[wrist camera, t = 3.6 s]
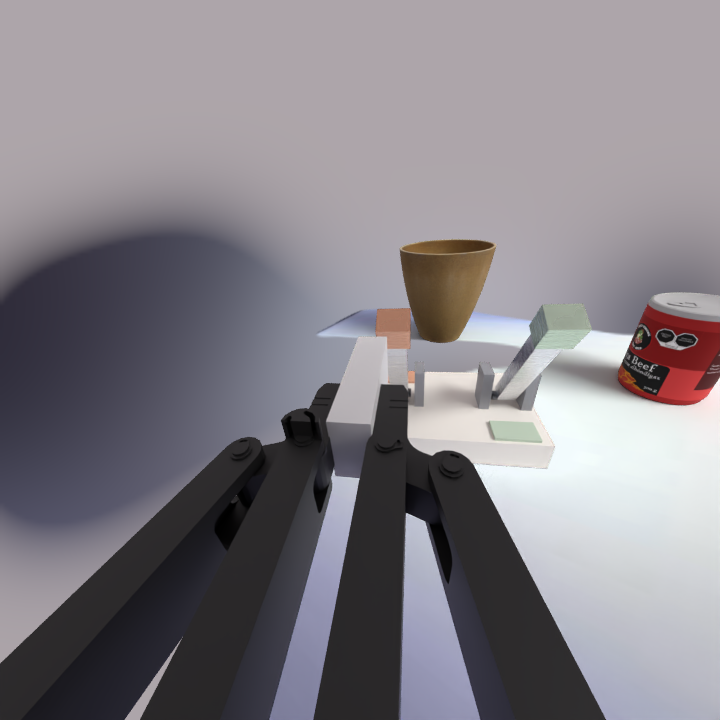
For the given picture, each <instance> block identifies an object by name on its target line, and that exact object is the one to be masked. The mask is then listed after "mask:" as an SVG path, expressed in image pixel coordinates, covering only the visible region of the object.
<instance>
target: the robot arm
mask: <svg viewBox="0 0 720 720" xmlns="http://www.w3.org/2000/svg"><path fill="white" fill-rule="evenodd" d="M281 422H282V426H283V429H284V433H285V436H286V439H285V441H283V442H279V443H275V444H270V445H264V446H262V445H261V443H260V440H258V439H256V438H252V437H246V438H241V439H239V440H236V441H234V442H233V443H231V444H230V445H229V446H227V447H226V448H225V449H224V450H223V451H222V452H221V453H220V454H219V455H218V456H217V457H216V458H215V459H214V460H213V461H212V462H210V463H209V465H207V466H206V467H205V468H204V469H203V470H202V471H201V472H200V473H199V474H198V475H197V476H196V477H195V478H194V479H193V480H192V481H191V482H190V483H189V484H187V485H186V486H185V487H184V488H183V489H182V490H181V491H180V492H179V493H178V494H177V495H176V496H175V497H174V498H173V499H172V500H171V501H170V502H169V503H168V504H167V505H166V506H164V507H163V508H162V509H161V510H160V511H159V512H158V513H157V514H156V515H155V516H154V517H153V518H152V519H151V520H150V521H149V522H148V523H147V524H146V525H145V526H144V527H143V528H141V529H140V530H139V531H138V532H137V533H136V534H135V535H134V536H133V537H132V538H131V539H130V540H129V541H128V542H127V543H126V544H125V545H124V546H123V547H122V548H121V549H120V550H118V551H117V552H116V553H115V554H114V555H113V556H112V557H111V558H110V559H109V560H108V561H107V562H106V563H105V564H104V565H103V566H102V567H101V568H100V569H99V570H98V571H97V572H96V573H94V574H93V575H92V576H91V577H90V578H89V579H88V580H87V581H86V582H85V583H84V584H83V585H82V586H81V587H80V588H79V589H78V590H77V591H76V592H75V593H74V594H72V595H71V596H70V597H69V598H68V599H67V600H66V601H65V602H64V603H63V604H62V605H61V606H60V607H59V608H58V609H57V610H56V611H55V612H54V613H53V614H52V615H51V616H49V617H48V619H46V620H45V621H44V622H43V623H42V624H41V625H40V626H39V627H38V628H37V629H36V630H35V631H34V632H33V633H32V634H31V635H30V636H29V637H28V638H26V639H25V640H24V641H23V642H22V643H21V644H20V645H19V646H18V647H17V648H16V649H15V650H14V651H13V652H12V653H11V654H10V655H9V656H8V657H7V658H6V659H5V660H4V661H2V662H1V663H0V720H125V718H126V717H127V715H128V714H129V712H130V711H131V710H132V708H133V707H134V705H135V704H136V702H137V701H138V700H139V698H140V697H141V695H142V694H143V693H144V691H145V689H146V688H147V687H148V685H149V684H150V683H151V681H152V680H153V678H154V677H155V675H156V674H157V673H158V671H159V670H160V668H161V667H162V666H163V664H164V663H165V661H166V660H167V658H168V657H169V656H170V654H171V653H172V651H173V650H174V648H175V647H176V646H177V644H178V643H179V641H180V640H181V638H182V637H183V638H182V640H181V642H180V644H179V645H178V647H177V650H176V651H175V653H174V655H173V657H172V659H171V661H170V663H169V665H168V667H167V669H166V671H165V673H164V674H163V676H162V678H161V680H160V682H159V684H158V686H157V688H156V690H155V692H154V694H153V696H152V697H151V700H150V701H149V704H148V705H147V707H146V709H145V711H144V713H143V715H142V717H141V719H140V720H269V718H270V714H271V711H272V707H273V703H274V700H275V696H276V692H277V689H278V685H279V681H280V678H281V674H282V670H283V667H284V663H285V659H286V656H287V652H288V648H289V645H290V641H291V637H292V634H293V630H294V626H295V623H296V619H297V615H298V612H299V608H300V604H301V601H302V597H303V593H304V590H305V586H306V582H307V579H308V575H309V571H310V568H311V564H312V560H313V557H314V553H315V549H316V546H317V542H318V538H319V535H320V531H321V527H322V524H323V520H324V516H325V513H326V509H327V505H328V502H329V498H330V494H331V491H332V480H331V476H332V472H333V469H334V470H335V475H336V476H343V477H354V478H360V480H359V485H358V490H357V495H356V501H355V506H354V511H353V516H352V521H351V527H350V532H349V537H348V542H347V548H346V553H345V558H344V563H343V568H342V574H341V579H340V584H339V589H338V594H337V600H336V605H335V610H334V615H333V621H332V626H331V631H330V636H329V641H328V647H327V652H326V657H325V662H324V667H323V673H322V678H321V683H320V688H319V693H318V699H317V704H316V709H315V714H314V720H400V710H401V673H402V635H403V598H404V561H405V524H406V513H408V514H411V515H413V516H415V517H417V518H419V519H421V520H424V521H426V525H427V529H428V533H429V536H430V540H431V543H432V547H433V551H434V554H435V558H436V561H437V565H438V569H439V572H440V576H441V579H442V583H443V587H444V590H445V594H446V597H447V601H448V604H449V608H450V612H451V615H452V619H453V622H454V626H455V630H456V633H457V637H458V640H459V644H460V648H461V651H462V655H463V658H464V662H465V666H466V669H467V673H468V676H469V680H470V683H471V687H472V691H473V694H474V698H475V701H476V705H477V709H478V712H479V716H480V719H481V720H606V719H605V717H604V715H603V713H602V711H601V709H600V707H599V705H598V703H597V701H596V700H595V698H594V696H593V694H592V692H591V690H590V688H589V686H588V684H587V682H586V680H585V678H584V676H583V675H582V673H581V671H580V669H579V667H578V665H577V663H576V661H575V659H574V657H573V655H572V653H571V651H570V650H569V648H568V646H567V644H566V642H565V640H564V638H563V636H562V634H561V632H560V630H559V628H558V627H557V625H556V623H555V621H554V619H553V617H552V615H551V613H550V611H549V609H548V607H547V605H546V603H545V602H544V600H543V598H542V596H541V594H540V592H539V590H538V588H537V586H536V584H535V582H534V580H533V578H532V577H531V575H530V573H529V571H528V569H527V567H526V565H525V563H524V561H523V559H522V557H521V555H520V553H519V552H518V550H517V548H516V546H515V544H514V542H513V540H512V538H511V536H510V534H509V532H508V530H507V528H506V527H505V525H504V523H503V521H502V519H501V517H500V515H499V513H498V511H497V509H496V507H495V505H494V503H493V502H492V500H491V498H490V496H489V494H488V492H487V490H486V488H485V486H484V484H483V482H482V480H481V478H480V477H479V475H478V473H477V471H476V469H475V467H474V465H473V464H472V462H471V461H470V460H469V459H468V458H467V457H466V456H464V455H463V454H461V453H458V452H455V451H450V450H443V451H440V452H436V453H435V454H434V455H433V456H431V455H429V454H426V453H423V452H421V451H419V450H417V449H416V448H414V447H413V446H412V445H411V443H410V442H409V440H408V391H407V389H406V388H405V386H404V385H391V384H388V357H387V337H358V339H357V343H356V345H355V347H354V350H353V353H352V355H351V358H350V360H349V363H348V366H347V368H346V371H345V373H344V376H343V379H342V381H341V384H336V383H335V384H334V383H326V384H324V385H323V386H322V387H321V388H320V389H319V390H318V391H317V394H316V395H315V399H314V400H313V402H312V405H311V406H310V408H309V409H307V408H304V409H297V410H294V411H291V412H290V413H288V414H287V415H285V416H284V417H283V419H282V420H281ZM236 495H237V496H236ZM235 496H236V497H235Z"/></svg>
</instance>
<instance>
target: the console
mask: <svg viewBox="0 0 720 720" xmlns="http://www.w3.org/2000/svg"><path fill="white" fill-rule="evenodd" d="M503 374H504V373H494V372H493V370H492V367H491V365H490V363H483V362H482V363H481V362H480V363H479V369H478V373H460V372H425V371H424V362H415V371H408V388H411V397H408V440H409V442H410V443H411V445H412V446H413V447H414V448H416V449H417V450H419V451H421V452H423V453H426V454H429V455H431V456H433V455H434V454H435V453H436V452H440V451H443V450H450V451H455V452H458V453H461V454H463V455H464V456H466V457H467V458H468V459H469V460H470V461H471V462H472V463H473V464H487V465H501V466H515V467H529V468H542V469H547V468H548V465H549V463H550V460H551V457H552V454H553V452H554V449H555V445H554V443H553V441H552V439H551V438H550V436H549V434H548V432H547V430H546V429H545V427H544V425H543V423H542V421H541V420H540V418H539V416H538V414H537V412H536V410H535V409H534V407H533V404H534V401H535V397H536V394H537V390H538V386H539V383H540V379H541V374H539V375H538V376H537V377H536V378H535V379H534V380H533V382H532V383H531V384H530V385H529V386H528V387H527V388H526V389H525V390H524V391H523V392H522V393H521V394H520V395H519V396H518V397H517V400H491V393H492V391H495V386H496V385H497V383H498V382H499V380H500V379H501V377H502V376H503ZM388 384H390V382H389V376H388Z"/></svg>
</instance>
